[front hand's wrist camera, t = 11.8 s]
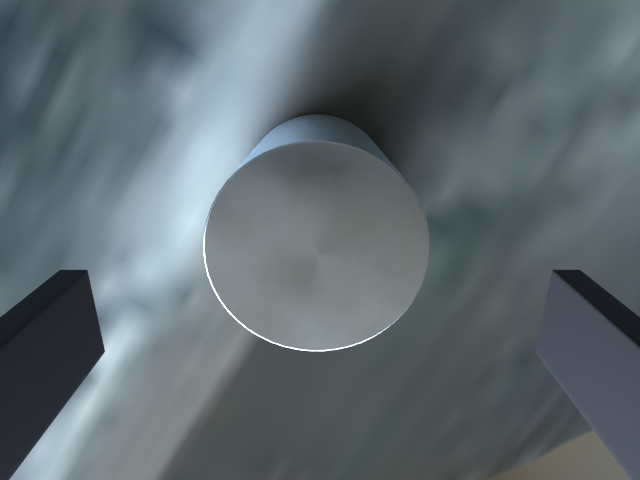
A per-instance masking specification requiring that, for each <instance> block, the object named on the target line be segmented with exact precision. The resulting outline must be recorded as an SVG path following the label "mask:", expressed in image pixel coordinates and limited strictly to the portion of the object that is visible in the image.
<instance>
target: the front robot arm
mask: <svg viewBox="0 0 640 480" xmlns="http://www.w3.org/2000/svg"><path fill="white" fill-rule="evenodd" d="M104 352H105V350H104V345H103V341H102V336H101V331H100V327H99V322H98V317H97V313H96V308H95V303H94V299H93V294H92V289H91V285H90V280H89V276H88V271H87V270H59V271H58V272H57V273H56V274H54V275H53V276H52V277H51V278H49V279H48V280H47V281H46V282H44V283H43V284H42V285H41V286H39V287H38V288H37V289H35V290H34V291H33V292H32V293H30V294H29V295H28V296H27V297H25V298H24V299H23V300H22V301H20V302H19V303H18V304H17V305H15V306H14V307H13V308H12V309H10V310H9V311H8V312H6V313H5V314H4V315H3V316H1V317H0V480H9V479H10V478H11V477H12V475H13V474H14V473H15V471H16V470H17V469H18V467H19V466H20V465H21V463H22V462H23V461H24V459H25V458H26V457H27V455H28V454H29V453H30V451H31V450H32V448H33V447H34V446H35V444H36V443H37V442H38V440H39V439H40V438H41V436H42V435H43V434H44V432H45V431H46V430H47V428H48V427H49V426H50V424H51V423H52V422H53V420H54V419H55V418H56V416H57V415H58V414H59V412H60V411H61V410H62V408H63V407H64V406H65V404H66V403H67V402H68V400H69V399H70V398H71V396H72V395H73V394H74V392H75V391H76V390H77V388H78V387H79V386H80V384H81V383H82V382H83V380H84V379H85V378H86V376H87V375H88V374H89V372H90V371H91V370H92V368H93V367H94V366H95V364H96V363H97V362H98V360H99V359H100V357H101V356H102V355H103V353H104ZM535 352H536V353H537V355H538V356H539V357H540V359H541V360H542V362H543V363H544V364H545V366H546V367H547V368H548V370H549V371H550V372H551V374H552V375H553V376H554V378H555V379H556V380H557V382H558V383H559V384H560V386H561V387H562V388H563V390H564V391H565V392H566V394H567V395H568V396H569V398H570V399H571V400H572V402H573V403H574V404H575V406H576V407H577V408H578V410H579V411H580V412H581V414H582V415H583V416H584V418H585V419H586V420H587V422H588V423H589V424H590V426H591V427H592V428H593V430H594V431H595V432H596V434H597V435H598V436H599V438H600V439H601V440H602V442H603V443H604V444H605V446H606V447H607V448H608V450H609V451H610V453H611V454H612V455H613V457H614V458H615V459H616V460H617V462H618V463H619V465H620V466H621V467H622V469H623V470H624V471H625V473H626V474H627V475H628V477H629V478H630V479H631V480H640V317H639V316H637V315H636V314H635V313H634V312H632V311H631V310H630V309H628V308H627V307H626V306H625V305H623V304H622V303H621V302H620V301H618V300H617V299H616V298H615V297H613V296H612V295H611V294H610V293H608V292H607V291H606V290H605V289H603V288H602V287H601V286H599V285H598V284H597V283H596V282H594V281H593V280H592V279H591V278H589V277H588V276H587V275H586V274H584V273H583V272H582V271H581V270H553V271H552V276H551V280H550V285H549V289H548V294H547V299H546V303H545V308H544V313H543V317H542V322H541V327H540V331H539V336H538V341H537V345H536V350H535Z"/></svg>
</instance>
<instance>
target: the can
mask: <svg viewBox="0 0 640 480" xmlns="http://www.w3.org/2000/svg"><path fill="white" fill-rule="evenodd" d="M203 251H204V262H205V266H206V270H207V274H208V277H209V280H210V282H211V285H212V287H213V289H214V291H215V293H216V295H217V297H218V298H219V300H220V301H221V303H222V304H223V305H224V307H225V308H226V310H227V311H228V312H229V313H230V314H231V315H232V316H233V317H234V318H235V319H236V320H237V321H238V322H239V323H240V324H242V325H243V326H244V327H245V328H246V329H248V330H249V331H251V332H253V333H254V334H256V335H257V336H259V337H261V338H263V339H265V340H267V341H269V342H272V343H275V344H278V345H280V346H283V347H288V348H292V349H297V350H306V351H328V350H337V349H341V348H346V347H350V346H353V345H356V344H359V343H362V342H364V341H366V340H368V339H370V338H372V337H374V336H376V335H378V334H379V333H381V332H382V331H384V330H386V329H387V328H388V327H389V326H391V325H392V324H393V323H394V322H395V321H397V320H398V319H399V317H400V316H401V315H402V314H403V313H404V312H405V311H406V310H407V309H408V307H409V306H410V305H411V303H412V302H413V301H414V299H415V297H416V295H417V294H418V292H419V290H420V288H421V286H422V283H423V281H424V278H425V275H426V271H427V267H428V263H429V255H430V234H429V229H428V223H427V219H426V216H425V213H424V210H423V207H422V206H421V204H420V202H419V200H418V198H417V196H416V194H415V192H414V191H413V190H412V188H411V187H410V185H409V184H408V182H407V181H406V180H405V179H404V178H403V176H402V175H401V174H400V173H399V172H398V170H397V169H396V168H395V167H394V166H393V164H392V163H391V162H390V161H389V159H388V158H387V157H386V156H385V155H384V153H383V152H382V151H381V150H380V149H379V147H378V146H377V145H376V144H375V143H374V141H373V140H372V139H371V138H370V137H369V136H368V135H367V134H366V133H365V132H364V131H362V130H361V129H360V128H359V127H357V126H355V125H354V124H352V123H350V122H348V121H346V120H344V119H341V118H338V117H334V116H329V115H320V114H312V115H304V116H300V117H296V118H293V119H290V120H288V121H285V122H283V123H282V124H280V125H278V126H277V127H275V128H274V129H273V130H271V131H270V132H269V133H268V134H267V135H266V136H265V137H264V138H263V139H262V140H261V141H260V142H259V143H258V145H257V146H256V147H255V148H254V149H253V151H252V152H251V153H250V154H249V155H248V157H247V158H246V159H245V160H244V161H243V162H242V164H241V165H240V166H239V167H238V168H237V170H236V171H235V172H234V173H233V174H232V176H231V177H230V178H229V179H228V180H227V182H226V183H225V184H224V186H223V187H222V189H221V190H220V191H219V193H218V194H217V196H216V198H215V200H214V202H213V204H212V206H211V209H210V211H209V214H208V217H207V220H206V225H205V230H204V241H203Z"/></svg>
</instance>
